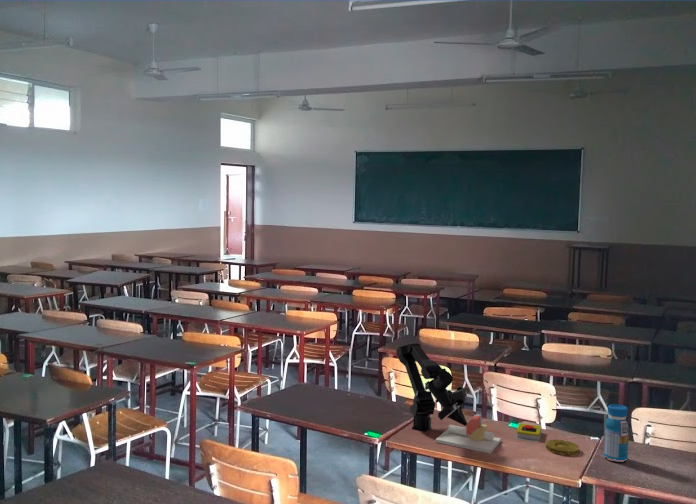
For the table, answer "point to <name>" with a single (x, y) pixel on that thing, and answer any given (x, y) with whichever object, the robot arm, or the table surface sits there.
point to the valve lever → (473, 424)
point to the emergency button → (528, 432)
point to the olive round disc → (562, 447)
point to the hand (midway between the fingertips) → (466, 425)
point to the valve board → (469, 438)
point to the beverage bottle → (616, 433)
